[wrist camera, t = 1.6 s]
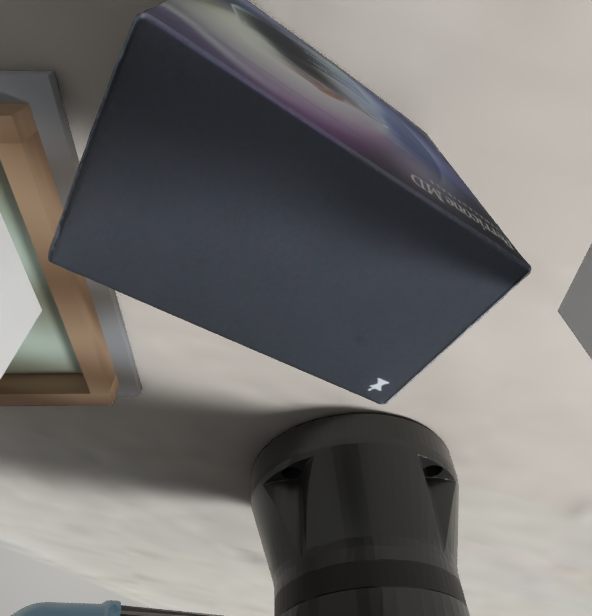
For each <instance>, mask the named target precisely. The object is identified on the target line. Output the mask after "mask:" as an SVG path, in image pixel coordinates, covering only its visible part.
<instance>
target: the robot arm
mask: <svg viewBox="0 0 592 616" xmlns="http://www.w3.org/2000/svg"><path fill="white" fill-rule="evenodd" d="M41 312H42V309H41V307H40V304H39V302H38V300H37V297H36V295H35V293H34V290H33V288H32V285H31V283H30V281H29V278H28V276H27V274H26V271H25V269H24V267H23V264H22V262H21V260H20V257H19V255H18V253H17V250H16V248H15V246H14V243H13V241H12V239H11V236H10V234H9V232H8V229H7V227H6V225H5V222H4V220H3V218H2V215H1V213H0V379H1V378H2V376H3V374H4V373H5V371H6V369H7V368H8V366H9V364H10V363H11V361H12V359H13V358H14V356H15V354H16V353H17V351H18V349H19V348H20V346H21V345H22V343H23V341H24V340H25V338H26V336H27V335H28V333H29V331H30V330H31V328H32V326H33V325H34V323H35V321H36V320H37V318H38V316H39V315H40V313H41ZM558 312H559V314H560V315H561V316H562V318H563V319H564V321H565V322H566V324H567V325H568V326H569V328H570V329H571V331H572V332H573V333H574V335H575V336H576V338H577V339H578V341H579V342H580V343H581V345H582V346H583V348H584V349H585V351H586V352H587V353H588V355H589V356H590V358H591V359H592V244H591V246H590V248H589V250H588V252H587V254H586V256H585V258H584V260H583V262H582V264H581V266H580V268H579V270H578V272H577V274H576V276H575V278H574V280H573V282H572V284H571V286H570V288H569V290H568V292H567V293H566V295H565V297H564V299H563V301H562V303H561V305H560V307H559V309H558ZM458 498H459V486H458V479H457V475H456V472H455V469H454V466H453V463H452V460H451V456H450V453H449V451H448V448H447V446H446V445H445V443H444V442H443V441H442V440H441V438H440V437H439V436H437V435H436V434H435V433H434V432H432V431H431V430H429V429H428V428H426V427H424V426H422V425H420V424H418V423H415V422H413V421H410V420H407V419H403V418H399V417H394V416H389V415H381V414H346V415H338V416H332V417H327V418H322V419H318V420H315V421H311V422H308V423H305V424H303V425H300V426H297V427H295V428H293V429H291V430H289V431H287V432H285V433H283V434H282V435H280V436H279V437H277V438H276V439H274V440H273V441H272V442H270V443H269V444H268V445H267V446H266V447H265V448H264V449H263V450H262V451H261V453H260V454H259V456H258V457H257V459H256V461H255V463H254V466H253V469H252V482H251V505H252V511H253V514H254V518H255V521H256V524H257V528H258V531H259V535H260V538H261V542H262V545H263V549H264V552H265V556H266V559H267V563H268V566H269V570H270V573H271V577H272V580H273V584H274V596H275V616H470V614H469V611H468V608H467V605H466V601H465V598H464V594H463V590H462V587H461V583H460V579H459V575H458V570H457V547H458ZM11 616H222V615H212V614H202V613H192V612H182V611H172V610H162V609H152V608H142V607H132V606H122V605H121V603H120V602H119V601H112V600H110V601H106V602H104V603H102V604H85V603H56V602H44V603H36V604H32V605H29V606H26V607H24V608H22V609H20V610H19V611H17V612H16V613H14V614H13V615H11Z"/></svg>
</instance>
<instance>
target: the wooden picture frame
mask: <svg viewBox="0 0 592 616" xmlns="http://www.w3.org/2000/svg"><path fill="white" fill-rule="evenodd" d="M78 167H79V160H78V156H77V153H76V149H75V146H74V142H73V138H72V135H71V131H70V128H69V124H68V120H67V117H66V113H65V110H64V106H63V102H62V99H61V95H60V92H59V88H58V84H57V81H56V77H55V74H54V71H4V70H0V213H1V215H2V218H3V220H4V222H5V225H6V227H7V229H8V232H9V234H10V236H11V239H12V241H13V243H14V246H15V248H16V250H17V253H18V255H19V257H20V260H21V262H22V264H23V267H24V269H25V271H26V274H27V276H28V278H29V281H30V283H31V285H32V288H33V290H34V293H35V295H36V297H37V300H38V302H39V304H40V307H41V309H42V312H41V313H40V315H39V316H38V318H37V320H36V321H35V323H34V325H33V326H32V328H31V330H30V331H29V333H28V335H27V336H26V338H25V340H24V341H23V343H22V345H21V346H20V348H19V349H18V351H17V353H16V354H15V356H14V358H13V359H12V361H11V363H10V364H9V366H8V368H7V369H6V371H5V373H4V374H3V376H2V378H1V379H0V406H67V405H113V403H114V400H115V398H116V396H140V394H141V390H142V386H141V383H140V379H139V376H138V372H137V368H136V365H135V361H134V358H133V354H132V350H131V347H130V343H129V340H128V336H127V333H126V329H125V325H124V322H123V318H122V315H121V311H120V307H119V304H118V300H117V297H116V293H115V290H114V289H111V288H109V287H106V286H104V285H102V284H99V283H97V282H95V281H92V280H90V279H88V278H86V277H83V276H81V275H78V274H76V273H73V272H71V271H68V270H66V269H64V268H62V267H59V266H57V265H55V264H53V263H51V262H49V261H48V253H49V249H50V245H51V242H52V240H53V238H54V235H55V232H56V229H57V226H58V223H59V220H60V218H61V215H62V212H63V209H64V206H65V203H66V201H67V198H68V195H69V192H70V189H71V186H72V184H73V181H74V178H75V175H76V172H77V170H78Z"/></svg>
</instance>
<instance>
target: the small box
mask: <svg viewBox="0 0 592 616" xmlns="http://www.w3.org/2000/svg"><path fill="white" fill-rule="evenodd" d="M48 261H49V262H51V263H53V264H55V265H57V266H59V267H62V268H64V269H66V270H68V271H71V272H73V273H76V274H78V275H81V276H83V277H86V278H88V279H90V280H92V281H95V282H97V283H99V284H102V285H104V286H106V287H109V288H111V289H114V290H116V291H118V292H121V293H123V294H125V295H128V296H130V297H132V298H134V299H137V300H139V301H141V302H144V303H146V304H148V305H151V306H153V307H155V308H157V309H160V310H162V311H165V312H167V313H169V314H171V315H174V316H176V317H178V318H181V319H183V320H185V321H188V322H190V323H192V324H194V325H197V326H199V327H202V328H204V329H206V330H209V331H211V332H213V333H216V334H218V335H220V336H223V337H225V338H227V339H229V340H232V341H234V342H237V343H239V344H241V345H243V346H246V347H248V348H250V349H253V350H255V351H257V352H260V353H262V354H265V355H267V356H269V357H272V358H274V359H276V360H278V361H280V362H283V363H285V364H288V365H290V366H292V367H295V368H297V369H299V370H302V371H304V372H306V373H309V374H311V375H313V376H316V377H318V378H320V379H323V380H325V381H327V382H329V383H332V384H334V385H336V386H339V387H341V388H344V389H346V390H348V391H350V392H353V393H355V394H358V395H360V396H362V397H365V398H367V399H369V400H371V401H374V402H376V403H378V404H386V403H388V402H389V401H390V400H391V399H392V398H394V397H395V396H396V395H397V394H398V393H399V392H400V391H401V390H402V389H403V388H404V387H405V386H406V385H407V384H408V383H410V382H411V381H412V380H413V379H414V378H415V377H416V376H417V375H418V374H419V373H421V372H422V371H423V370H424V369H425V368H426V367H427V366H428V365H430V364H431V363H432V362H433V361H434V360H435V359H436V358H437V357H438V356H439V355H440V354H442V353H443V352H444V351H445V350H446V349H447V348H448V347H449V346H450V345H452V344H453V343H454V342H455V341H456V340H457V339H458V338H460V337H461V336H462V335H463V334H464V333H465V332H466V331H467V330H468V329H469V328H470V327H471V326H472V325H473V324H475V323H476V322H477V321H478V320H479V319H481V318H482V317H483V316H484V315H485V314H486V313H487V312H488V311H489V310H490V309H491V308H492V307H493V306H495V305H496V304H497V303H498V302H499V301H500V300H501V299H503V298H504V297H505V296H506V295H507V294H508V293H509V292H510V291H511V290H512V289H513V288H514V287H515V286H516V285H517V284H518V283H519V282H520V281H522V280H523V279H524V278H525V277H526V276H528V275H529V274H530V271H531V266H530V265H529V264H528V263H527V261H526V260H525V259H524V258H523V257H522V256H521V255H520V254H519V252H518V251H517V250H516V249H515V247H514V246H513V245H512V243H511V242H510V241H509V239H508V238H507V237H506V236H505V234H504V233H503V232H502V230H501V229H500V227H499V226H498V225H497V224H496V223H495V221H494V220H493V219H492V217H491V216H490V215H489V214H488V212H487V211H486V210H485V209H484V207H483V206H482V205H481V204H480V202H479V201H478V200H477V198H476V197H475V196H474V195H473V193H472V192H471V191H470V189H469V188H468V187H467V186H466V184H465V183H464V182H463V180H462V179H461V178H460V177H459V175H458V174H457V173H456V171H455V170H454V169H453V168H452V166H451V165H450V164H449V163H448V161H447V160H446V159H445V157H444V156H443V155H442V153H441V152H440V151H439V149H438V148H437V147H436V145H435V144H434V143H433V141H432V140H431V139H430V138H429V136H428V135H427V134H426V133H425V132H424V131H423V130H421V129H420V128H419V127H418V126H416V125H415V124H414V123H413V122H411V121H410V120H409V119H407V118H406V117H405V116H403V115H402V114H401V113H400V112H398V111H397V110H395V109H394V108H393V107H391V106H390V105H389V104H387V103H386V102H385V101H383V100H382V99H381V98H379V97H378V96H377V95H375V94H374V93H373V92H371V91H370V90H369V89H367V88H366V87H365V86H363V85H362V84H361V83H359V82H358V81H357V80H355V79H354V78H353V77H351V76H350V75H349V74H347V73H346V72H345V71H343V70H342V69H341V68H339V67H338V66H337V65H335V64H334V63H333V62H331V61H330V60H328V59H327V58H326V57H324V56H323V55H322V54H320V53H319V52H317V51H316V50H315V49H313V48H312V47H311V46H309V45H308V44H306V43H305V42H304V41H302V40H301V39H300V38H298V37H297V36H295V35H294V34H293V33H291V32H290V31H289V30H287V29H286V28H285V27H283V26H282V25H280V24H279V23H278V22H276V21H275V20H274V19H272V18H271V17H269V16H268V15H267V14H265V13H264V12H263V11H261V10H260V9H258V8H257V7H256V6H254V5H253V4H251V3H250V2H248V1H247V0H167V1H165V2H163V3H161V4H160V5H158V6H156V7H154V8H152V9H148V10H145V11H144V12H142V13H140V14H138V15H137V17H136V18H135V20H134V21H133V24H132V26H131V29H130V31H129V34H128V36H127V39H126V41H125V44H124V46H123V49H122V51H121V53H120V56H119V58H118V61H117V63H116V65H115V68H114V70H113V73H112V76H111V79H110V82H109V84H108V87H107V90H106V93H105V96H104V99H103V101H102V104H101V106H100V108H99V111H98V114H97V117H96V119H95V122H94V125H93V127H92V130H91V132H90V135H89V138H88V142H87V145H86V148H85V151H84V153H83V156H82V158H81V162H80V164H79V167H78V170H77V172H76V175H75V178H74V181H73V184H72V186H71V189H70V192H69V195H68V198H67V201H66V203H65V206H64V209H63V212H62V215H61V218H60V220H59V223H58V226H57V229H56V232H55V235H54V238H53V240H52V242H51V245H50V249H49V253H48Z"/></svg>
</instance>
